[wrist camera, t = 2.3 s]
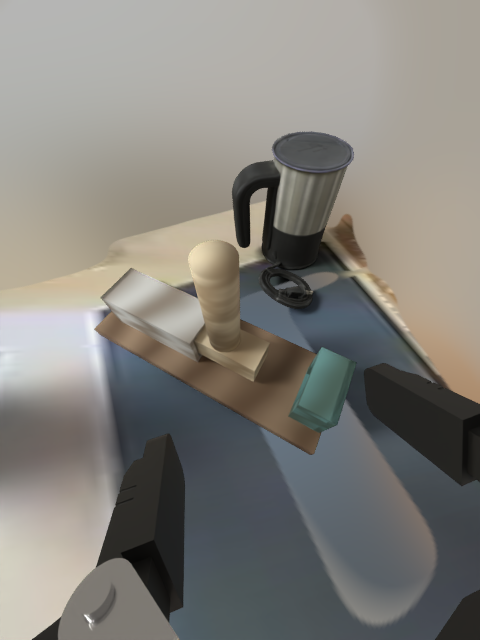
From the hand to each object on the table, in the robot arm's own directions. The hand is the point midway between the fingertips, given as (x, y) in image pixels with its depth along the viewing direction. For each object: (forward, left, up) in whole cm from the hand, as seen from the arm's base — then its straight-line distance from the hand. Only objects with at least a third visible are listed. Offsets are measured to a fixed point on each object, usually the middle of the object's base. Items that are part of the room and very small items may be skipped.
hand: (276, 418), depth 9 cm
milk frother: (-7, +25, -18) cm, 31 cm away
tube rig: (-9, +7, -18) cm, 22 cm away
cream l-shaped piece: (-12, +7, -16) cm, 21 cm away
